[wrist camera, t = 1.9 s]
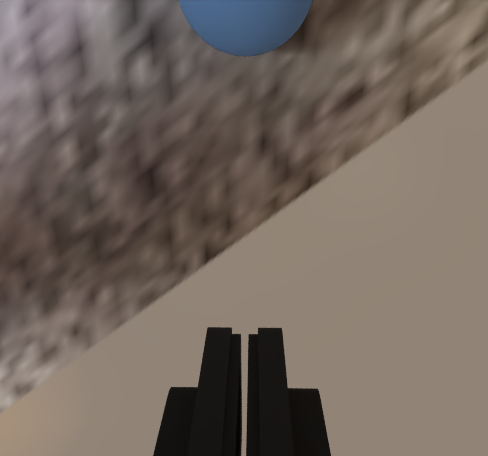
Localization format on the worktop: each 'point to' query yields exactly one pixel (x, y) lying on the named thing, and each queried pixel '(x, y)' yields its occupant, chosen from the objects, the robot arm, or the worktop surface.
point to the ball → (245, 23)
